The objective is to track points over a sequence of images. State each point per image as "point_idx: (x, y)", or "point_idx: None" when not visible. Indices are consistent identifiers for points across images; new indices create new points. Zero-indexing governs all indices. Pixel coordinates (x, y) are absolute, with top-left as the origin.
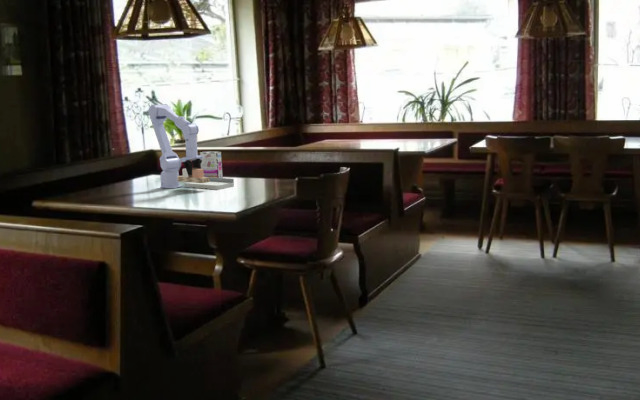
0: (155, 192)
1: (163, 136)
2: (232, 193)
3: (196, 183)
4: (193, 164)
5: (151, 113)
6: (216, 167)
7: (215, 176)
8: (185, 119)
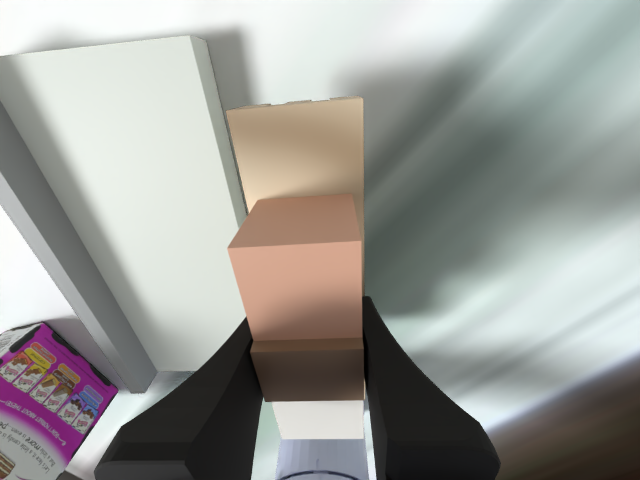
0: (498, 344)
1: None
2: None
3: (239, 306)
4: (252, 445)
5: None
6: None
7: (28, 361)
8: None
